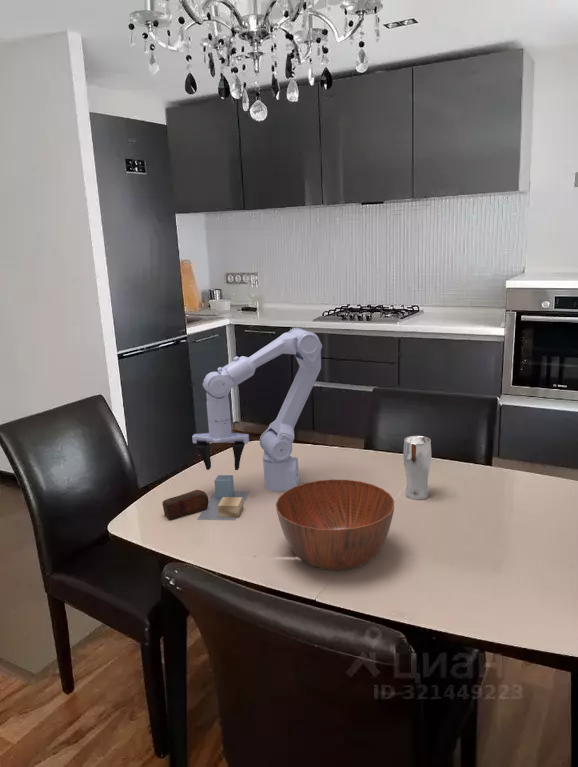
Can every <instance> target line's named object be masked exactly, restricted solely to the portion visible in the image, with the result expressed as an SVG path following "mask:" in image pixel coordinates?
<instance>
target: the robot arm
mask: <svg viewBox="0 0 578 767" xmlns="http://www.w3.org/2000/svg"><path fill="white" fill-rule="evenodd" d="M322 348H323V344H322V342H321V341H320V338H319V336H318V335H317V334H316V333H315V332H312V331H307V330H304V329H302V328H299V327H295V328H292V329H290V330H289V331H288V332H287V331H286V332H284V333H282V334H281V335H280V336H278V337H277V338H275V339H274V340H272V341H271V342H270V343H268V344H267V345H265V346H263V347H262V348H260V349H259V350H258V351H256V352H255V353H253V354H252V355H250V356H249V357H248V356H244V355H242V356H240V357H239V356H235V357H233V358H232V359H233V360H232V361H231V362H229V363H228V364H226V365H224V366H222V367H221V366H219V367H218V368H217V371H211V372H209V373H207V374H206V375H205V377H204V379H203V382H202V386H203V387H202V388H203V389H204V390H205V391H206V394H205V395H206V412H207V423H208V424H207V425H208V432H206V433H205V432H204V433H203V432H202V433H194V434H193V435H192V437H191V438H192V443H193V444H196V446H195V449H196V450H197V452H198V453H199V456H200V457H201V458H202V461H203V463H204V466H205V470H206V471H209V470H210V469H211V468H212V460H211V443H213V444H214V443H215V444H217V443H219V444H220V443H222V444H223V443H231V444H232V443H234V444H233V445H232V452H233V458H234V470H235V471H239V469H240V466H241V465H240V463H241V458H242V455H243V452H244V451H243V450H244V447H245V445H246V444H249V441H250V435H249V433H241V432H240V433H239V432H232V421H231V410H230V400H229V393H230V392H231V390H232V388H235V387H236V386H238V385H240V384H242V383H243V382H245V381H246V380H248V379H250V378H252V377H253V376H254V375H255V372H256V369H257V368H259V367H260V366H263V365H265V364H266V363H268V362H269V361H271V360H274V359H275V358H277V357H279V356H281V355H283V354H285V355H294V357H295V359H296V361H297V364H298V365H299V367H298V369H297V372H296V374H295V376H294V379H293V382H292V384H290V385H291V386H290V388H289V389H288V392H287V394H286V397H285V398H284V401H283V403H282V405H281V408H280V410H279V411H278V414H277V417H276V418H275V420H273V421H272V422H271V423H269V426H268V427H267V429H266V430H265V431H263V433H262V434H261V435H260V438H259V446H260V447H261V449H262V450H263V455H262V463H263V480H264V482H263V484H264V489H265V490H268V491H271V492H282V491H283V492H285V491H287V490H289V489H291V488H293V487H295V486H298V485H300V473H299V472H300V470H299V460H298V459H299V458H298V457H294V456H291V454H292V451H293V443H294V440H295V430H294V429H295V426H296V424H297V423H298V420H299V417H300V415H301V413H302V411H303V409H304V406H306V405H305V404H306V402H307V400H308V398H309V396H310V394H311V392H312V389H313V387H314V385H315V383H316V381H317V378H318V376H319V374H320V371H321V369H322Z"/></svg>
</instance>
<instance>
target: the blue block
mask: <svg viewBox="0 0 578 767" xmlns="http://www.w3.org/2000/svg"><path fill="white" fill-rule="evenodd" d="M234 484H235V482H234V475H233V474H231V475H230V474H217V476H216V478H215V479H214V492H215V493H216V499H222V498H223V497H232V496H233V494H234V491H235V485H234Z"/></svg>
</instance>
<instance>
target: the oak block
mask: <svg viewBox="0 0 578 767" xmlns="http://www.w3.org/2000/svg"><path fill="white" fill-rule="evenodd" d="M243 510H244V504H243V499H242V497H223V498H222V500H221V501H220V503H219V505H218V514H219V517H237V518H240V516H241V514H242V512H243Z"/></svg>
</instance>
